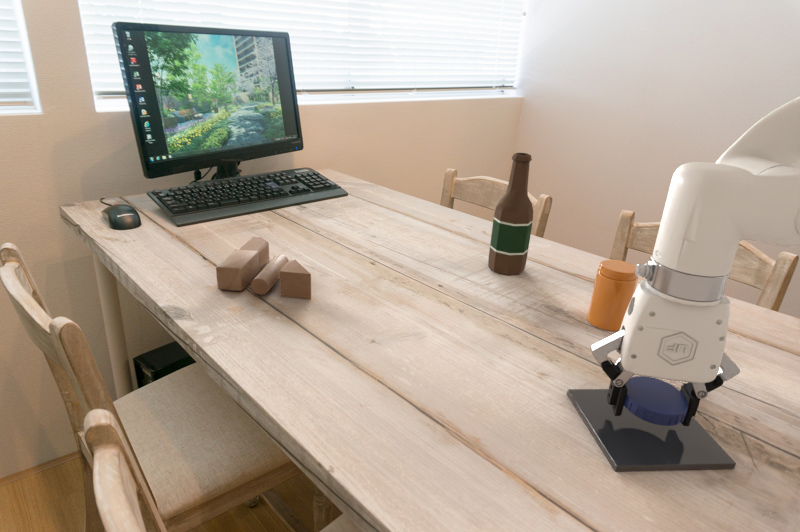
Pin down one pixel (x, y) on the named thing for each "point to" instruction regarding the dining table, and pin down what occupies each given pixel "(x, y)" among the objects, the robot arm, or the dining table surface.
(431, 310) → the dining table surface
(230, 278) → the wooden block set
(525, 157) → the beer bottle
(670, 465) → the slate coaster
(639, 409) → the jar lid
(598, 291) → the honey jar
